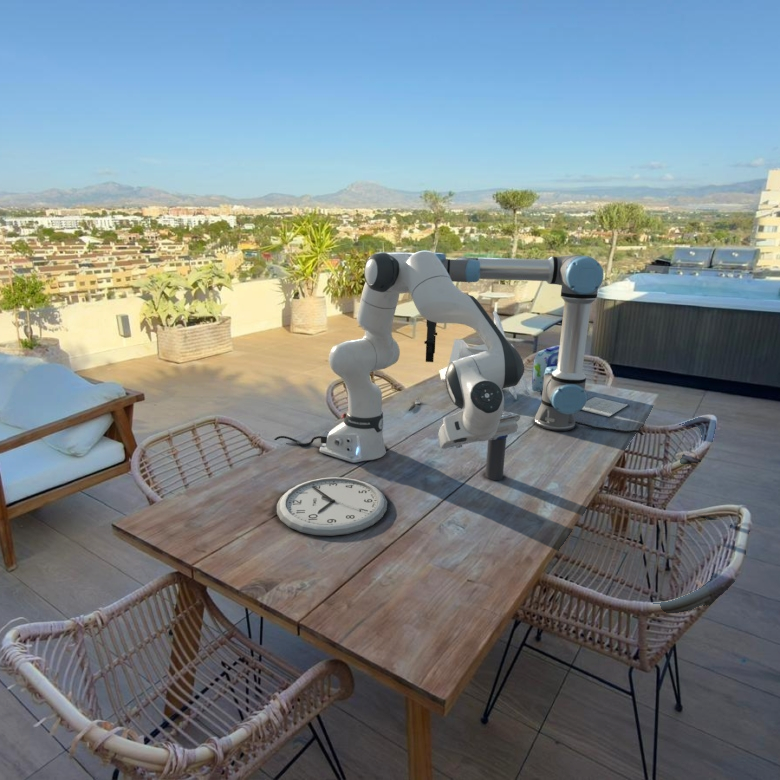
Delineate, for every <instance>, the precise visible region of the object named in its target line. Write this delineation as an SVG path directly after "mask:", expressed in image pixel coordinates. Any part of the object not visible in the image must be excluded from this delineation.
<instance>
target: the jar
mask: <svg viewBox="0 0 780 780" xmlns="http://www.w3.org/2000/svg"><path fill="white" fill-rule="evenodd" d="M506 444H507V438H505V439H496V440H492V441H491V440H490V439H489V440H487V451H486V463H485V475H484V476H485V477H486V478H487V479H488V480H491V481H501V480H503V478H504V468H505V459H506V458H505V457H506V456H505V455H506V446H507V445H506Z"/></svg>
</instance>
